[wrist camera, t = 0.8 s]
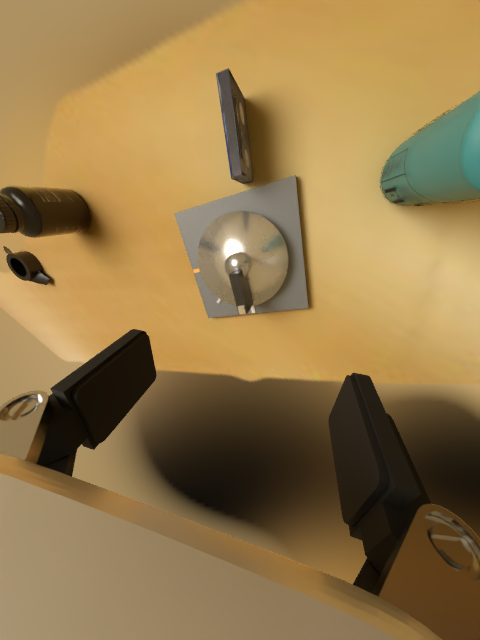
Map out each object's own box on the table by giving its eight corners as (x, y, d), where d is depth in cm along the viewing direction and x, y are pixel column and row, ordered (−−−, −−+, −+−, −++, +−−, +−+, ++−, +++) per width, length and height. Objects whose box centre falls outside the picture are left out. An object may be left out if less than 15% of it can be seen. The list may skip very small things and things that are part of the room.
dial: (189, 224, 31) (169, 226, 26) (281, 198, 26) (276, 195, 22) (214, 307, 37) (201, 321, 32) (293, 298, 32) (292, 313, 27)
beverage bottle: (362, 196, 25) (486, 166, 8) (400, 126, 21) (766, -193, 4) (414, 214, 24) (665, 225, 7) (462, 146, 21) (1137, -128, 4)
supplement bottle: (52, 197, 37) (-44, 192, 26) (76, 183, 34) (-20, 171, 24) (75, 237, 39) (-5, 246, 29) (99, 226, 37) (20, 232, 27)
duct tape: (27, 236, 43) (10, 238, 40) (57, 281, 47) (43, 285, 44) (9, 247, 46) (-8, 249, 43) (39, 288, 50) (25, 292, 47)
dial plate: (295, 176, 26) (295, 175, 25) (308, 305, 33) (308, 308, 32) (177, 213, 32) (173, 213, 31) (210, 315, 39) (208, 318, 38)
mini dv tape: (232, 102, 24) (213, 73, 19) (244, 98, 24) (228, 67, 19) (242, 183, 28) (228, 177, 23) (253, 181, 27) (241, 174, 22)
